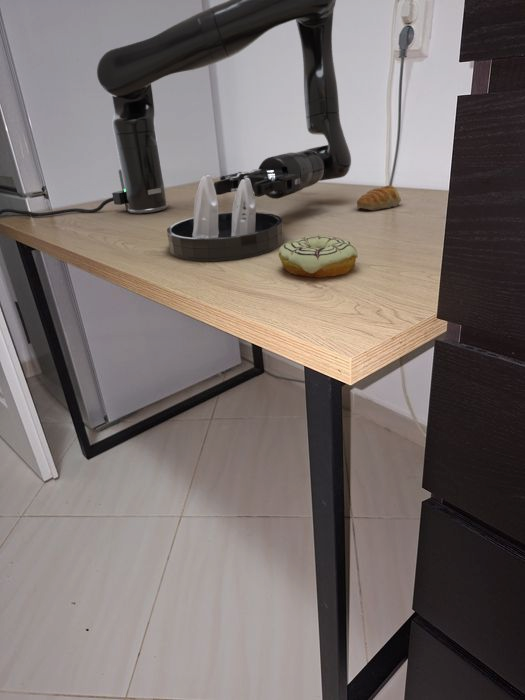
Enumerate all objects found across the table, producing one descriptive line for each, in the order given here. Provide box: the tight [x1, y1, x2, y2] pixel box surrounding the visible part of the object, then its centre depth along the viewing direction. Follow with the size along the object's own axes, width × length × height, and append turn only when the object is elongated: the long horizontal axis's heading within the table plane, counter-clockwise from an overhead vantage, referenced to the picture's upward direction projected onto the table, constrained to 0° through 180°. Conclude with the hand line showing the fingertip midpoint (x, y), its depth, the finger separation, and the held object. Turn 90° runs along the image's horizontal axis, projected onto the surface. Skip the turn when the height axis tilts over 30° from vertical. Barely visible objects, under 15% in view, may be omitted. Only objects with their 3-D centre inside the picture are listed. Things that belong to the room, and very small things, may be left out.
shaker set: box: [192, 174, 257, 238], centre depth 83 cm, size 12×4×11 cm, turn 113°
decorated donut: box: [278, 235, 359, 279], centre depth 69 cm, size 10×11×4 cm
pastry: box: [356, 185, 402, 211], centre depth 103 cm, size 9×7×4 cm
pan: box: [166, 211, 284, 262], centre depth 85 cm, size 19×19×4 cm
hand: (235, 189), depth 84 cm, fingers open, 8 cm apart
